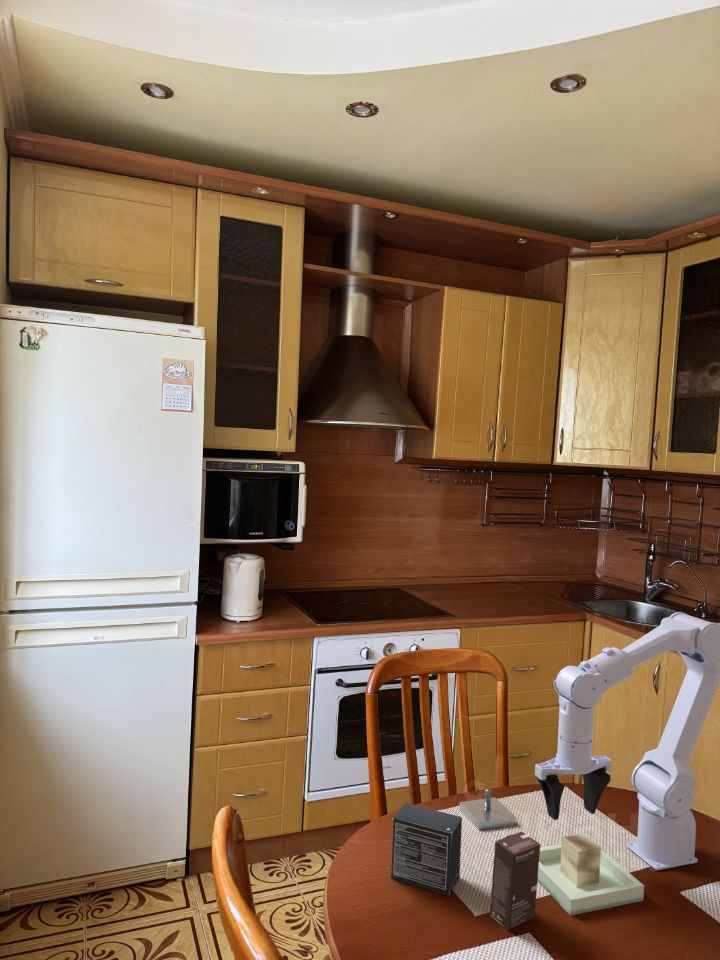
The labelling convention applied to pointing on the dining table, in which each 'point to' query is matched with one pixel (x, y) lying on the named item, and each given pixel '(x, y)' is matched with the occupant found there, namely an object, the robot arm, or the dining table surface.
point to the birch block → (580, 860)
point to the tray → (576, 900)
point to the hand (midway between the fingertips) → (571, 813)
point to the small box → (426, 848)
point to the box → (514, 880)
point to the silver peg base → (487, 812)
